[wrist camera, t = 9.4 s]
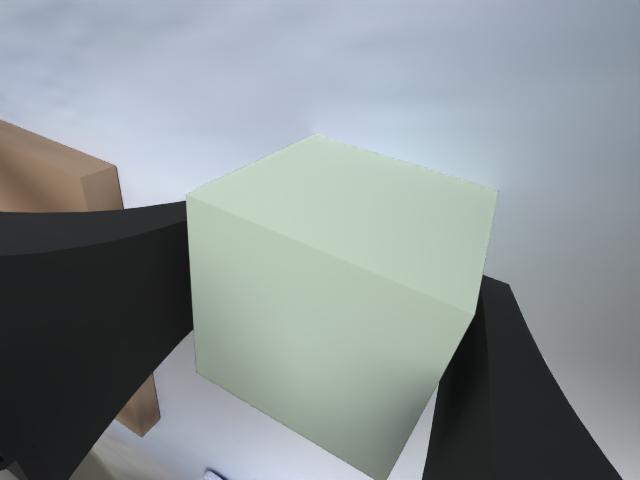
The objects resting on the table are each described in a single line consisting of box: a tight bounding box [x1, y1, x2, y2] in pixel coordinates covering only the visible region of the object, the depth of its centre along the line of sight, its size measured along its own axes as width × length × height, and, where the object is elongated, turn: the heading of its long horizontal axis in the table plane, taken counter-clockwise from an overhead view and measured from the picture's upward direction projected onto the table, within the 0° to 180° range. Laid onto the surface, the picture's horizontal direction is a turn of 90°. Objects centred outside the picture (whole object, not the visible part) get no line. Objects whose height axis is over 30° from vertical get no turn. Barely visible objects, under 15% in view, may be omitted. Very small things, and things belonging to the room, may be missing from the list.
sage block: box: [186, 134, 499, 480], centre depth 9 cm, size 5×5×5 cm
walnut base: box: [0, 120, 160, 437], centre depth 21 cm, size 18×14×2 cm
